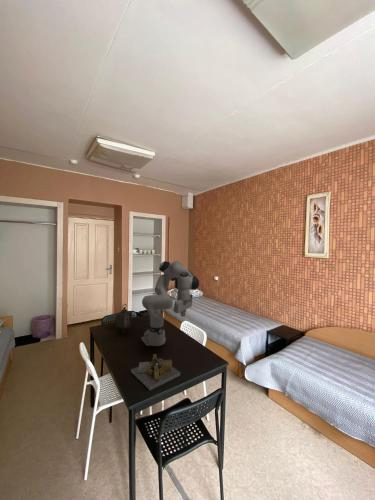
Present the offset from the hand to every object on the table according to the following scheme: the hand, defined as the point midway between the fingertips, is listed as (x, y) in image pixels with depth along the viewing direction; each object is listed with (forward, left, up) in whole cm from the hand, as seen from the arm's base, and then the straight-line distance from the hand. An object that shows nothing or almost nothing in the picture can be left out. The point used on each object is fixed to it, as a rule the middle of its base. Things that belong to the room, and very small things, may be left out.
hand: (183, 316), depth 151 cm
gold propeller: (+3, -24, -29) cm, 38 cm away
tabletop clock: (-75, -9, -31) cm, 82 cm away
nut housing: (+3, -24, -31) cm, 39 cm away
